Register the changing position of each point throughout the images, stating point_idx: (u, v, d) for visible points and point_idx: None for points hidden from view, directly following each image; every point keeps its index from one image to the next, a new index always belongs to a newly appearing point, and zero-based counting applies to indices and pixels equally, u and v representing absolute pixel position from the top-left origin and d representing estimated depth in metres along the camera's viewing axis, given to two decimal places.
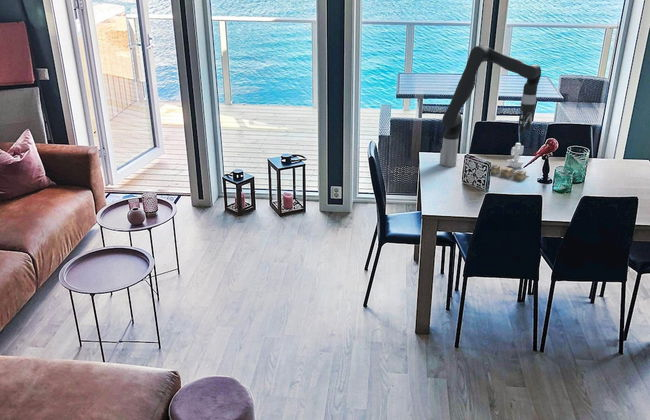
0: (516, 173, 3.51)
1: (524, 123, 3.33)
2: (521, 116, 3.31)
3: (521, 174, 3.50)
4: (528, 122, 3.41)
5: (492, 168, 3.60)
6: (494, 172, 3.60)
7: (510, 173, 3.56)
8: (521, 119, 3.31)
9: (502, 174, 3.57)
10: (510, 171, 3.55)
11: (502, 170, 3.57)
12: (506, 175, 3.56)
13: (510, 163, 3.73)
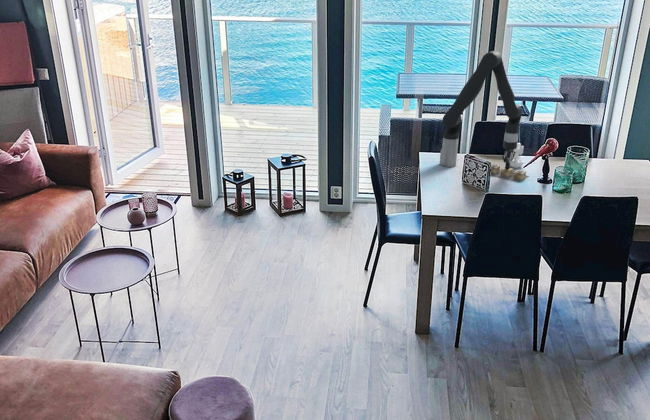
0: (516, 173, 3.51)
1: (509, 161, 3.53)
2: (504, 157, 3.50)
3: (521, 174, 3.50)
4: None
5: (492, 168, 3.60)
6: (494, 172, 3.60)
7: (510, 173, 3.56)
8: (505, 159, 3.51)
9: (502, 174, 3.57)
10: (510, 171, 3.55)
11: (502, 170, 3.57)
12: (506, 175, 3.56)
13: (510, 163, 3.73)
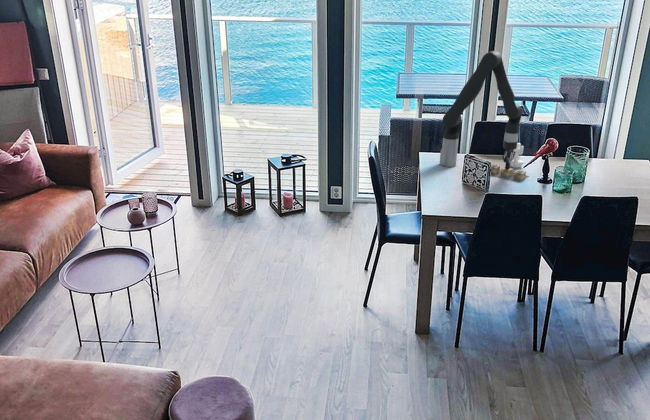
0: (516, 173, 3.51)
1: (509, 161, 3.53)
2: (504, 157, 3.50)
3: (521, 174, 3.50)
4: None
5: (492, 168, 3.60)
6: (494, 172, 3.60)
7: (510, 173, 3.56)
8: (505, 159, 3.51)
9: (502, 174, 3.57)
10: (510, 171, 3.55)
11: (502, 170, 3.57)
12: (506, 175, 3.56)
13: (510, 163, 3.73)
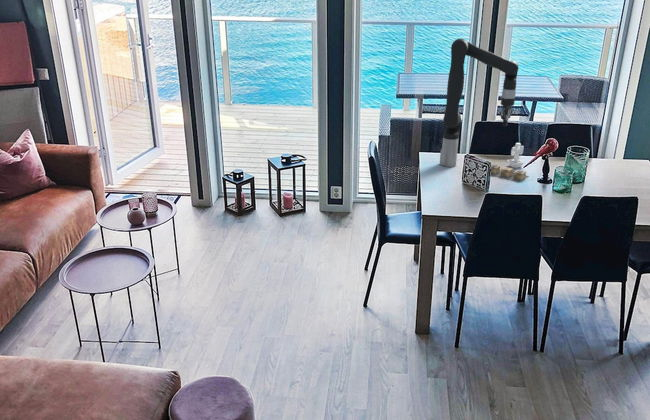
0: (516, 173, 3.51)
1: (506, 118, 3.55)
2: (501, 114, 3.51)
3: (521, 174, 3.50)
4: None
5: (492, 168, 3.60)
6: (494, 172, 3.60)
7: (510, 173, 3.56)
8: (502, 116, 3.52)
9: (502, 174, 3.57)
10: (510, 171, 3.55)
11: (502, 170, 3.57)
12: (506, 175, 3.56)
13: (510, 163, 3.73)
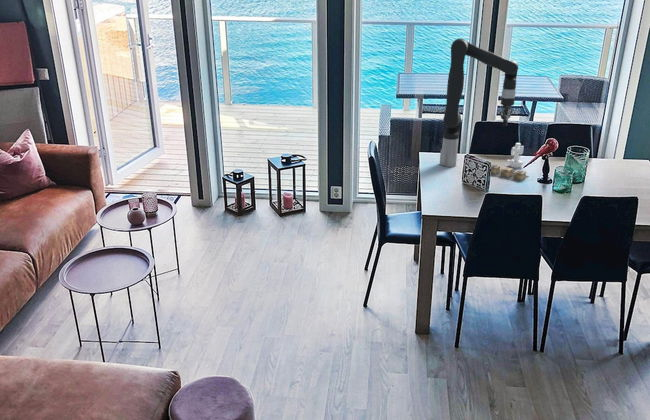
0: (516, 173, 3.51)
1: (506, 117, 3.55)
2: (501, 113, 3.51)
3: (521, 174, 3.50)
4: None
5: (492, 168, 3.60)
6: (494, 172, 3.60)
7: (510, 173, 3.56)
8: (502, 115, 3.52)
9: (502, 174, 3.57)
10: (510, 171, 3.55)
11: (502, 170, 3.57)
12: (506, 175, 3.56)
13: (510, 163, 3.73)
